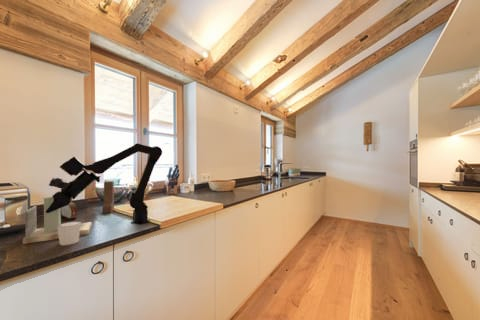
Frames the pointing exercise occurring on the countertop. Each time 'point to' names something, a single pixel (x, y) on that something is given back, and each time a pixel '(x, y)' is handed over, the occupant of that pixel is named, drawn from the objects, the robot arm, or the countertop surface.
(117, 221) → the countertop surface
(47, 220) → the sage block
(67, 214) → the tin
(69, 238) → the white cup
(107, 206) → the wooden block
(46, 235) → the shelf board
